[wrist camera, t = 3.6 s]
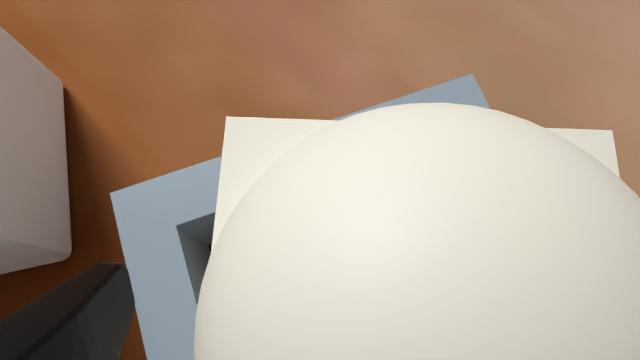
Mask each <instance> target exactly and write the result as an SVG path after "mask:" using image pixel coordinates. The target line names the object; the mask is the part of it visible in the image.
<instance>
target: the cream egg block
mask: <svg viewBox="0 0 640 360" xmlns="http://www.w3.org/2000/svg"><path fill="white" fill-rule="evenodd" d="M194 360H640V198H639V197H638V196H637V194H636V193H635V192H634V191H633V190H632V189H631V188H630V187H628V186H627V185H626V184H625V183H624V182H623V181H622V180H621V179H620V176H619V170H618V164H617V157H616V151H615V145H614V139H613V133H612V130H586V129H558V128H543V127H541V126H539V125H537V124H534V123H532V122H530V121H528V120H525V119H522V118H519V117H516V116H513V115H510V114H507V113H504V112H501V111H497V110H492V109H487V108H482V107H478V106H473V105H464V104H453V103H411V104H402V105H395V106H388V107H381V108H377V109H374V110H370V111H366V112H363V113H359V114H355V115H352V116H350V117H348V118H345V119H343V120H340V121H336V120H308V119H280V118H253V117H226V125H225V134H224V143H223V151H222V160H221V169H220V178H219V187H218V195H217V204H216V213H215V222H214V230H213V239H212V248H211V255H210V258H209V261H208V265H207V268H206V271H205V274H204V277H203V281H202V284H201V289H200V294H199V300H198V305H197V311H196V317H195V334H194Z"/></svg>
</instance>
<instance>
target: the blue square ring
mask: <svg viewBox="0 0 640 360" xmlns="http://www.w3.org/2000/svg"><path fill="white" fill-rule="evenodd" d="M411 103H453V104H464V105H473V106H478V107H482V108H487V109H490V107H489V105H488V103H487V101H486V99H485V97H484V95H483V93H482V91H481V90H480V88H479V86H478V84H477V82H476V80H475V78H474V76H473V74H470V75H467V76H464V77H461V78H458V79H455V80H452V81H449V82H445V83H442V84H439V85H436V86H433V87H430V88H427V89H424V90H421V91H418V92H415V93H412V94H409V95H406V96H403V97H400V98H397V99H394V100H391V101H388V102H385V103H382V104H379V105H376V106H373V107H370V108H367V109H364V110H360V111H357V112H354V113H351V114H348V115H345V116H342V117H339V118H336V119H333V120H336V121H340V120H343V119H345V118H348V117H350V116H352V115H355V114H359V113H363V112H366V111H370V110H374V109H377V108H381V107H388V106H395V105H402V104H411ZM221 160H222V156H221V157H218V158H215V159H212V160H209V161H206V162H203V163H200V164H197V165H193V166H190V167H187V168H184V169H181V170H178V171H175V172H172V173H169V174H166V175H163V176H160V177H157V178H154V179H151V180H148V181H145V182H142V183H139V184H136V185H133V186H130V187H127V188H124V189H121V190H118V191H115V192H111V193H110V196H111V200H112V205H113V209H114V214H115V218H116V223H117V227H118V232H119V236H120V241H121V245H122V250H123V254H124V258H125V263H126V267H127V269H128V272H129V277H130V281H131V285H132V290H133V294H134V298H135V308H136V312H137V317H138V321H139V326H140V330H141V335H142V339H143V344H144V348H145V352H146V357H147V360H194V334H195V317H196V311H197V305H198V300H199V294H200V289H201V284H202V281H203V277H204V274H205V271H206V268H207V265H208V261H209V258H210V255H211V254H210V250H209V246H208V245H210V244H212V239H213V230H214V222H215V213H216V204H217V195H218V187H219V178H220V169H221Z"/></svg>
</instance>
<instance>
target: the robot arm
mask: <svg viewBox="0 0 640 360" xmlns="http://www.w3.org/2000/svg"><path fill="white" fill-rule="evenodd" d="M134 309H135V298H134V294H133V290H132V285H131V281H130V277H129V272H128V269H127V267H126V266H125V265H124V264H123V263H114V262H100V263H97V264H95V265H93V266H92V267H90V268H88V269H87V270H85V271H83V272H81V273H80V274H78V275H76V276H75V277H73V278H71V279H70V280H68V281H66V282H65V283H63V284H61V285H60V286H58V287H56V288H55V289H53V290H51V291H50V292H48V293H46V294H44V295H43V296H41V297H39V298H38V299H36V300H34V301H33V302H31V303H29V304H28V305H26V306H24V307H23V308H21V309H19V310H18V311H16V312H14V313H12V314H11V315H9V316H7V317H6V318H4V319H2V320H1V321H0V360H118V358H119V355H120V352H121V349H122V346H123V343H124V340H125V337H126V334H127V331H128V328H129V325H130V323H131V320H132V317H133V313H134Z"/></svg>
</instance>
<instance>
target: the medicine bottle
mask: <svg viewBox="0 0 640 360" xmlns="http://www.w3.org/2000/svg"><path fill="white" fill-rule="evenodd" d="M71 252H72V241H71V223H70V205H69V187H68V169H67V150H66V132H65V114H64V96H63V85H62V83H61V81H60V79H59V78H58V77H57V76H55V75H54V74H53V73H52V72H51V71H50V70H49V69H48V68H47V67H45V66H44V65H43V64H42V63H41V62H40V61H39V60H38V59H36V58H35V57H34V56H33V55H32V54H31V53H30V52H29V51H27V50H26V49H25V48H24V47H23V46H22V45H21V44H20V43H19V42H17V41H16V40H15V39H14V38H13V37H12V36H11V35H10V34H8V33H7V32H6V31H5V30H4V29H3V28H2V27H1V26H0V274H4V273H8V272H13V271H18V270H22V269H27V268H32V267H36V266H41V265H46V264H50V263H55V262H59V261H63V260H65V259H67V258H68V257H69V256H70V255H71Z"/></svg>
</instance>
